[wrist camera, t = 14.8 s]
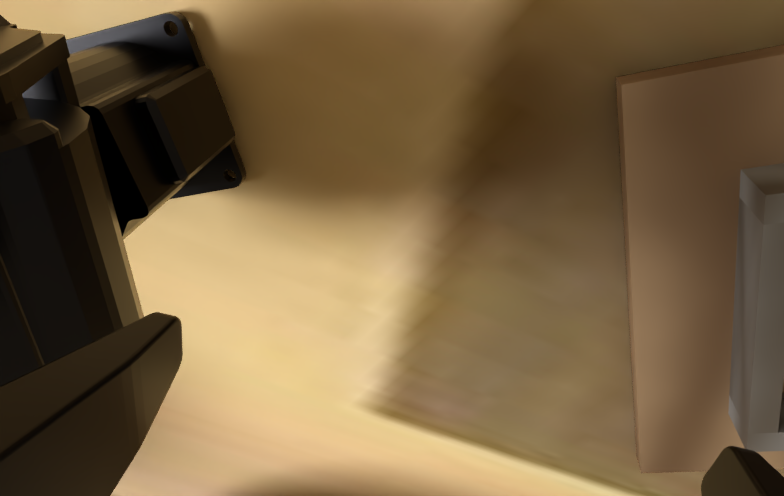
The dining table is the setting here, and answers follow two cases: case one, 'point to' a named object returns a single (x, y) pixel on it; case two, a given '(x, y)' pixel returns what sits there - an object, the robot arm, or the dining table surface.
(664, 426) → the collar board
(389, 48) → the dining table surface
